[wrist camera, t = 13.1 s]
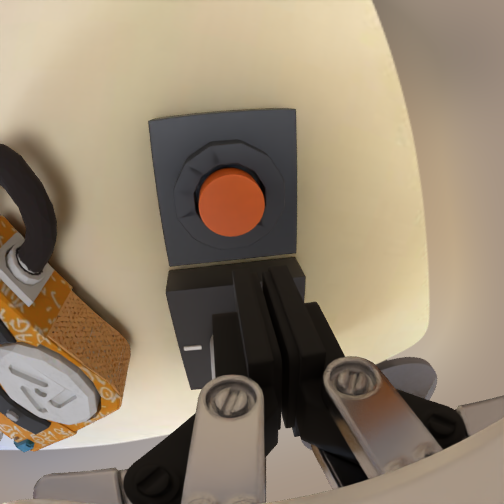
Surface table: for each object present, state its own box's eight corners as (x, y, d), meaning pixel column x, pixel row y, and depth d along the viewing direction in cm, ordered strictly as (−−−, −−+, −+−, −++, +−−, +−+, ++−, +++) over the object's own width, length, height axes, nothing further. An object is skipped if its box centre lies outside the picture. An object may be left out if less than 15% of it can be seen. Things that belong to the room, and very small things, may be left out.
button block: (289, 240, 25) (303, 265, 21) (171, 252, 24) (167, 280, 20) (287, 108, 20) (304, 110, 17) (153, 118, 19) (142, 122, 16)
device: (-111, 345, 14) (-54, 123, 9) (-80, 305, 22) (17, 108, 17) (29, 465, 24) (206, 388, 19) (43, 416, 32) (203, 312, 27)
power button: (260, 222, 20) (265, 233, 18) (202, 228, 19) (202, 240, 18) (258, 165, 18) (263, 171, 17) (196, 170, 18) (195, 177, 16)
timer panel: (291, 354, 31) (299, 377, 28) (190, 366, 30) (190, 391, 27) (295, 256, 25) (306, 277, 23) (168, 270, 24) (165, 293, 22)
